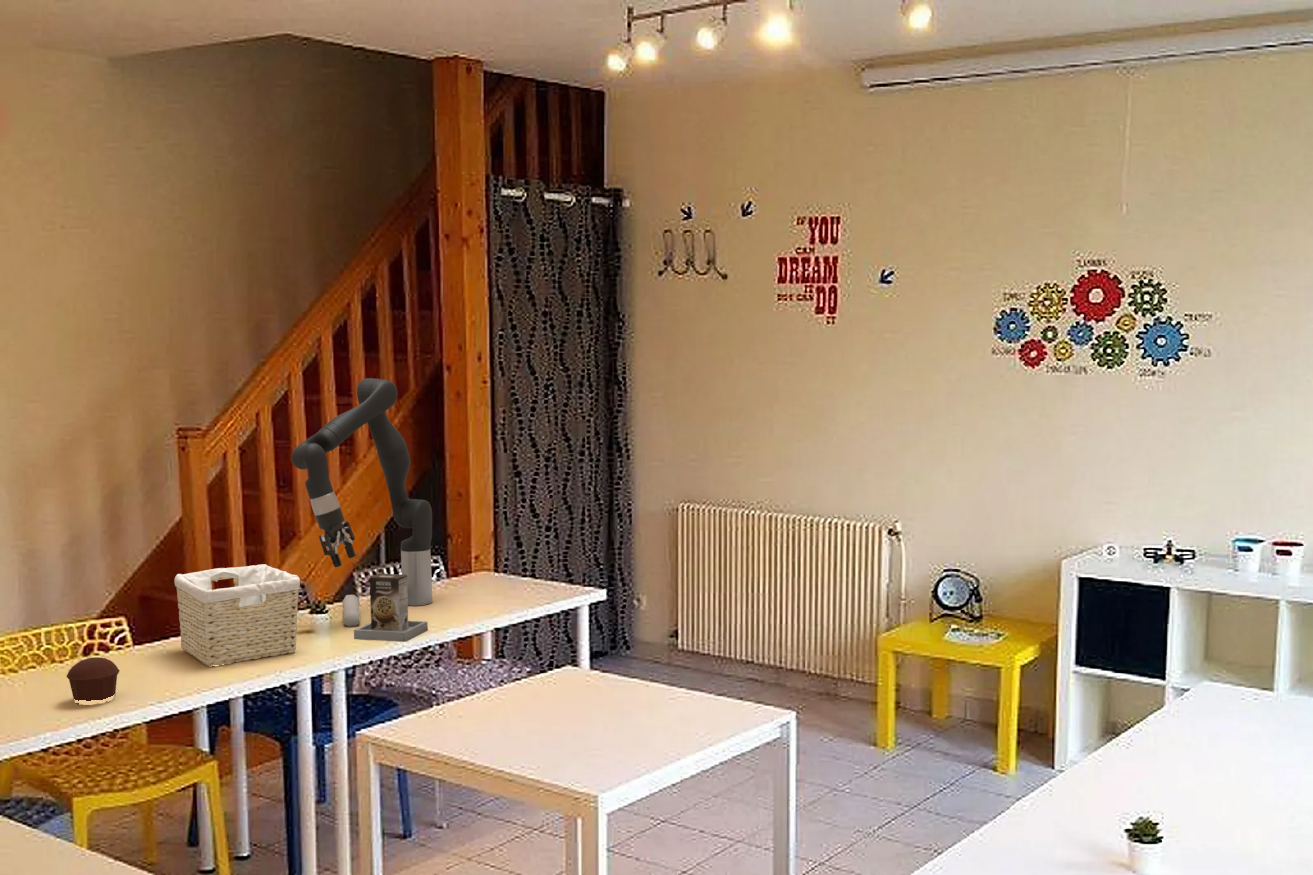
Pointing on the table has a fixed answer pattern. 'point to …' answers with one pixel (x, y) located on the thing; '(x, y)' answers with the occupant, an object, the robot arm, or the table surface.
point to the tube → (351, 610)
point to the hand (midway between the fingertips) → (345, 561)
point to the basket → (238, 614)
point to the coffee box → (389, 602)
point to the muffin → (93, 679)
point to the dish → (391, 632)
